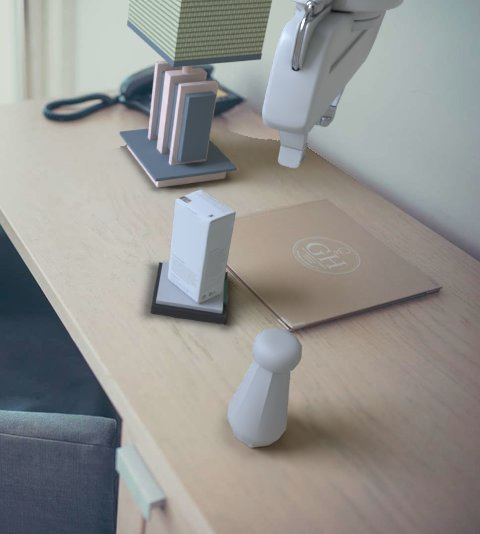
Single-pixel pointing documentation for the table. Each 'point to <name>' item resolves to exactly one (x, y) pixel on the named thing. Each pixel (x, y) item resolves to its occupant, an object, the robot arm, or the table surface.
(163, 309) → the scale
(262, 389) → the salt shaker
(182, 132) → the desk lamp
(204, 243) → the cosmetic box
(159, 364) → the table surface
